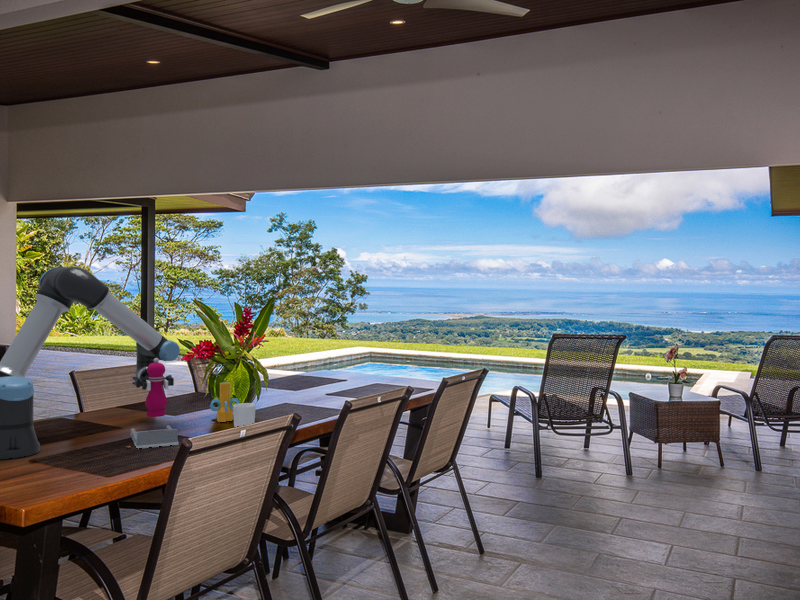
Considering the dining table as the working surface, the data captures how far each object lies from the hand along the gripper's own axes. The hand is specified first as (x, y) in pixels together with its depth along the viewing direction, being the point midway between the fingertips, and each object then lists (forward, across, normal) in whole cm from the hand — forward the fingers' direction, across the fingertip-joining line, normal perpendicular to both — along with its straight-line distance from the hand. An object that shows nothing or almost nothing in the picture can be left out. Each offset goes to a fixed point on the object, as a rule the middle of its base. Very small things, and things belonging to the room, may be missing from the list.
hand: (158, 385), depth 226 cm
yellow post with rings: (-22, -28, -19) cm, 40 cm away
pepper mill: (-5, 0, -11) cm, 12 cm away
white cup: (0, -29, -19) cm, 35 cm away
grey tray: (-2, +1, -19) cm, 19 cm away
